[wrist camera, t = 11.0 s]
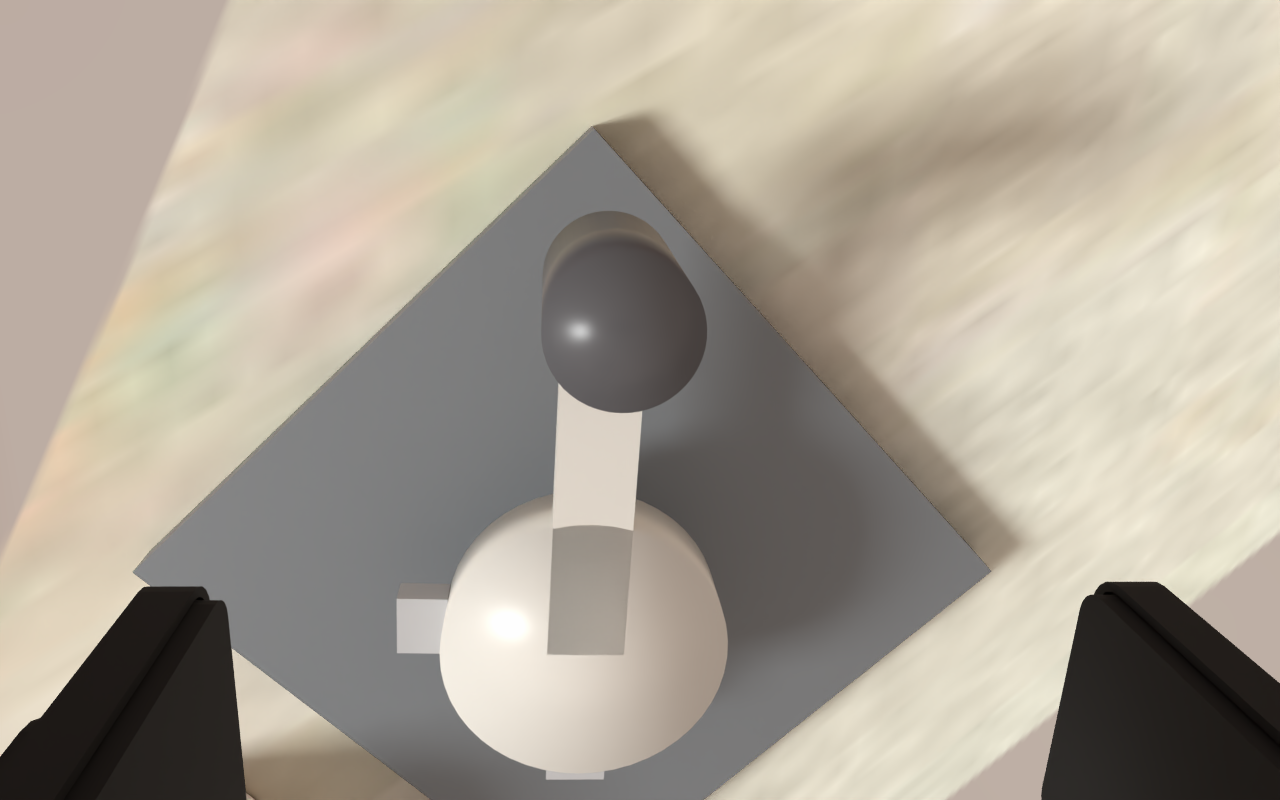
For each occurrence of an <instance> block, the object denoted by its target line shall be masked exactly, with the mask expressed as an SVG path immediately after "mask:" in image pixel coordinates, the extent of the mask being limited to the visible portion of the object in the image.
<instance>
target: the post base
mask: <svg viewBox="0 0 1280 800" xmlns="http://www.w3.org/2000/svg"><path fill="white" fill-rule="evenodd" d="M599 211H618V212H624V213H628V214H631V215H633V216H636V217H638V218H640V219H642V220H643V221H645V222H647V223H648V224H649V225H650V226H652V227H653V228H654V229H655V230H656V231H657V232H658V233H659V235H660V236H661V237H662V238H663V240H664V241H665V243H666V244H667V246H668V248H669V249H670V251H671V252H672V254H673V255H674V257H675V259H676V260H677V262H678V263H679V265H680V266H681V268H682V270H683V271H684V273H685V274H686V276H687V277H688V279H689V281H690V282H691V284H692V285H693V287H694V288H695V290H696V292H697V294H698V295H699V297H700V300H701V302H702V305H703V307H704V311H705V315H706V321H707V342H706V348H705V352H704V355H703V358H702V361H701V363H700V365H699V367H698V369H697V371H696V372H695V374H694V376H693V377H692V379H691V380H690V381H689V382H688V384H687V385H686V386H685V387H684V388H683V389H682V390H681V391H680V392H679V393H677V394H676V395H675V396H673V397H672V398H671V399H669V400H668V401H666V402H664V403H662V404H660V405H658V406H656V407H653V408H651V409H647V410H644V411H642V422H641V435H640V448H639V461H638V475H637V488H636V499H637V500H640V501H643V502H645V503H647V504H649V505H651V506H653V507H655V508H657V509H659V510H660V511H662V512H663V513H665V514H666V515H668V516H669V517H671V518H672V519H673V520H674V521H675V522H677V523H678V524H679V525H680V526H681V527H682V528H683V529H684V530H685V531H686V532H687V533H688V534H689V536H690V537H691V538H692V539H693V540H694V541H695V543H696V544H697V546H698V548H699V549H700V551H701V552H702V554H703V556H704V558H705V560H706V563H707V565H708V567H709V569H710V573H711V576H712V579H713V582H714V585H715V588H716V592H717V595H718V598H719V601H720V604H721V607H722V611H723V615H724V618H725V622H726V628H727V636H728V652H727V661H726V666H725V671H724V675H723V678H722V680H721V683H720V686H719V689H718V691H717V693H716V695H715V697H714V699H713V701H712V702H711V704H710V705H709V707H708V708H707V710H706V711H705V713H704V714H703V716H702V717H701V718H700V719H699V720H698V721H697V722H696V724H695V725H694V726H693V727H692V728H691V729H690V730H689V731H688V732H687V733H685V734H684V735H683V736H682V737H681V738H680V739H679V740H677V741H676V742H674V743H673V744H671V745H670V746H668V747H667V748H666V749H664V750H662V751H661V752H659V753H657V754H655V755H653V756H651V757H649V758H647V759H645V760H642V761H640V762H637V763H635V764H632V765H629V766H625V767H622V768H618V769H614V770H608V771H604V779H582V780H546V770H542V769H539V768H535V767H532V766H528V765H525V764H522V763H520V762H518V761H515V760H513V759H510V758H508V757H506V756H505V755H503V754H501V753H499V752H498V751H496V750H494V749H493V748H491V747H490V746H489V745H487V744H486V743H485V742H483V741H482V740H481V739H480V738H479V737H477V736H476V735H475V734H474V733H473V732H472V731H471V730H470V729H469V728H468V727H467V725H466V724H465V723H464V721H463V720H462V719H461V718H460V716H459V715H458V713H457V712H456V710H455V708H454V706H453V705H452V703H451V701H450V699H449V696H448V694H447V691H446V689H445V686H444V682H443V678H442V674H441V668H440V654H423V653H397V595H398V592H399V588H400V585H401V583H425V584H451V583H452V579H453V577H454V574H455V572H456V569H457V567H458V564H459V563H460V561H461V559H462V557H463V556H464V554H465V552H466V550H467V549H468V548H469V547H470V545H471V544H472V543H473V541H474V540H475V539H476V538H477V536H479V535H480V534H481V533H482V532H483V531H484V530H485V529H486V528H487V527H488V526H489V525H490V524H491V523H493V522H494V521H495V520H497V519H498V518H499V517H501V516H502V515H503V514H505V513H507V512H509V511H510V510H512V509H514V508H516V507H517V506H519V505H522V504H524V503H526V502H529V501H531V500H534V499H536V498H540V497H543V496H547V495H550V494H553V490H554V469H555V447H556V425H557V404H558V382H557V381H556V379H555V377H554V376H553V374H552V373H551V371H550V369H549V367H548V365H547V362H546V359H545V356H544V353H543V348H542V341H541V320H542V280H543V266H544V261H545V257H546V254H547V252H548V249H549V247H550V246H551V244H552V242H553V240H554V239H555V238H556V236H557V235H558V234H559V233H560V232H561V231H562V230H563V229H564V228H565V227H566V226H567V225H568V224H570V223H571V222H573V221H574V220H576V219H578V218H580V217H582V216H584V215H587V214H590V213H594V212H599ZM990 572H991V570H990V569H989V568H988V567H987V566H986V564H985V563H984V562H983V561H982V560H981V559H980V558H979V556H978V555H977V554H976V553H975V552H974V551H973V550H972V548H971V547H970V546H969V545H968V544H967V543H966V542H965V541H964V540H963V538H962V537H961V536H960V535H959V534H958V533H957V532H956V531H955V529H954V528H953V527H952V526H951V525H950V524H949V523H948V522H947V521H946V519H945V518H944V517H943V516H942V515H941V514H940V513H939V512H938V511H937V509H936V508H935V507H934V506H933V505H932V504H931V503H930V502H929V501H928V499H927V498H926V497H925V496H924V495H923V494H922V493H921V492H920V491H919V489H918V488H917V487H916V486H915V485H914V484H913V483H912V482H911V480H910V479H909V478H908V477H907V476H906V475H905V474H904V473H903V472H902V470H901V469H900V468H899V467H898V466H897V465H896V464H895V463H894V462H893V460H892V459H891V458H890V457H889V456H888V455H887V454H886V453H885V452H884V450H883V449H882V448H881V447H880V446H879V445H878V444H877V443H876V442H875V440H874V439H873V438H872V437H871V436H870V435H869V434H868V433H867V431H866V430H865V429H864V428H863V427H862V426H861V425H860V424H859V423H858V421H857V420H856V419H855V418H854V417H853V416H852V415H851V414H850V413H849V411H848V410H847V409H846V408H845V407H844V406H843V405H842V404H841V403H840V401H839V400H838V399H837V398H836V397H835V396H834V395H833V394H832V393H831V391H830V390H829V389H828V388H827V387H826V386H825V385H824V384H823V382H822V381H821V380H820V379H819V378H818V377H817V376H816V375H815V374H814V372H813V371H812V370H811V369H810V368H809V367H808V366H807V365H806V364H805V362H804V361H803V360H802V359H801V358H800V357H799V356H798V355H797V354H796V352H795V351H794V350H793V349H792V348H791V347H790V346H789V345H788V344H787V342H786V341H785V340H784V339H783V338H782V337H781V336H780V335H779V333H778V332H777V331H776V330H775V329H774V328H773V327H772V326H771V325H770V323H769V322H768V321H767V320H766V319H765V318H764V317H763V316H762V315H761V313H760V312H759V311H758V310H757V309H756V308H755V307H754V306H753V305H752V303H751V302H750V301H749V300H748V299H747V298H746V297H745V296H744V295H743V293H742V292H741V291H740V290H739V289H738V288H737V287H736V286H735V284H734V283H733V282H732V281H731V280H730V279H729V278H728V277H727V276H726V274H725V273H724V272H723V271H722V270H721V269H720V268H719V267H718V266H717V264H716V263H715V262H714V261H713V260H712V259H711V258H710V257H709V256H708V254H707V253H706V252H705V251H704V250H703V249H702V248H701V247H700V246H699V244H698V243H697V242H696V241H695V240H694V239H693V238H692V237H691V235H690V234H689V233H688V232H687V231H686V230H685V229H684V228H683V227H682V225H681V224H680V223H679V222H678V221H677V220H676V219H675V218H674V217H673V215H672V214H671V213H670V212H669V211H668V210H667V209H666V208H665V207H664V205H663V204H662V203H661V202H660V201H659V200H658V199H657V198H656V197H655V195H654V194H653V193H652V192H651V191H650V190H649V189H648V188H647V186H646V185H645V184H644V183H643V182H642V181H641V180H640V179H639V178H638V176H637V175H636V174H635V173H634V172H633V171H632V170H631V169H630V168H629V166H628V165H627V164H626V163H625V162H624V161H623V160H622V159H621V158H620V156H619V155H618V154H617V153H616V152H615V151H614V150H613V149H612V148H611V146H610V145H609V144H608V143H607V142H606V141H605V140H604V139H603V137H602V136H601V135H600V134H599V133H598V132H597V131H596V130H595V129H594V127H593V126H591V127H590V128H589V129H588V130H587V131H586V132H585V133H584V134H583V135H582V136H581V137H580V138H579V139H578V140H577V141H576V142H575V143H574V144H573V145H572V146H571V147H570V148H569V149H568V150H567V151H565V152H564V153H563V154H562V155H561V156H560V157H559V158H558V159H557V160H556V161H555V162H554V163H553V164H552V165H551V166H550V167H549V168H548V169H547V170H546V171H545V172H544V173H543V174H542V175H541V176H539V177H538V178H537V179H536V180H535V181H534V182H533V183H532V184H531V185H530V186H529V187H528V188H527V189H526V190H525V191H524V192H523V193H522V194H521V195H520V196H519V197H518V198H517V199H516V200H515V201H513V202H512V203H511V204H510V205H509V206H508V207H507V208H506V209H505V210H504V211H503V212H502V213H501V214H500V215H499V216H498V217H497V218H496V219H495V220H494V221H493V222H492V223H491V224H490V225H489V226H487V227H486V228H485V229H484V230H483V231H482V232H481V233H480V234H479V235H478V236H477V237H476V238H475V239H474V240H473V241H472V242H471V243H470V244H469V245H468V246H467V247H466V248H465V249H464V250H463V251H461V252H460V253H459V254H458V255H457V256H456V257H455V258H454V259H453V260H452V261H451V262H450V263H449V264H448V265H447V266H446V267H445V268H444V269H443V270H442V271H441V272H440V273H439V274H438V275H437V276H436V277H434V278H433V279H432V280H431V281H430V282H429V283H428V284H427V285H426V286H425V287H424V288H423V289H422V290H421V291H420V292H419V293H418V294H417V295H416V296H415V297H414V298H413V299H412V300H411V301H410V302H408V303H407V304H406V305H405V306H404V307H403V308H402V309H401V310H400V311H399V312H398V313H397V314H396V315H395V316H394V317H393V318H392V319H391V320H390V321H389V322H388V323H387V324H386V325H385V326H384V327H382V328H381V329H380V330H379V331H378V332H377V333H376V334H375V335H374V336H373V337H372V338H371V339H370V340H369V341H368V342H367V343H366V344H365V345H364V346H363V347H362V348H361V349H360V350H359V351H358V352H356V353H355V354H354V355H353V356H352V357H351V358H350V359H349V360H348V361H347V362H346V363H345V364H344V365H343V366H342V367H341V368H340V369H339V370H338V371H337V372H336V373H335V374H334V375H333V376H332V377H330V378H329V379H328V380H327V381H326V382H325V383H324V384H323V385H322V386H321V387H320V388H319V389H318V390H317V391H316V392H315V393H314V394H313V395H312V396H311V397H310V398H309V399H308V400H307V401H306V402H304V403H303V404H302V405H301V406H300V407H299V408H298V409H297V410H296V411H295V412H294V413H293V414H292V415H291V416H290V417H289V418H288V419H287V420H286V421H285V422H284V423H283V424H282V425H281V426H280V427H279V428H277V429H276V430H275V431H274V432H273V433H272V434H271V435H270V436H269V437H268V438H267V439H266V440H265V441H264V442H263V443H262V444H261V445H260V446H259V447H258V448H257V449H256V450H255V451H254V452H253V453H251V454H250V455H249V456H248V457H247V458H246V459H245V460H244V461H243V462H242V463H241V464H240V465H239V466H238V467H237V468H236V469H235V470H234V471H233V472H232V473H231V474H230V475H229V476H228V477H227V478H225V479H224V480H223V481H222V482H221V483H220V484H219V485H218V486H217V487H216V488H215V489H214V490H213V491H212V492H211V493H210V494H209V495H208V496H207V497H206V498H205V499H204V500H203V501H202V502H201V503H199V504H198V505H197V506H196V507H195V508H194V509H193V510H192V511H191V512H190V513H189V514H188V515H187V516H186V517H185V518H184V519H183V520H182V521H181V522H180V523H179V524H178V525H177V526H176V527H175V528H173V529H172V530H171V531H170V532H169V533H168V534H167V535H166V536H165V537H164V538H163V539H162V540H161V541H160V542H159V543H158V544H157V545H156V546H155V547H154V548H153V549H152V550H151V551H150V552H149V553H148V554H147V555H146V556H145V558H144V559H143V560H142V561H141V563H140V564H139V565H138V566H137V567H136V569H135V570H134V571H133V573H134V574H135V575H137V576H138V577H139V578H141V579H142V580H143V581H144V582H146V583H147V584H148V585H150V586H151V587H155V586H203V587H204V588H205V589H206V590H207V593H208V595H209V598H210V600H222V601H224V602H225V604H226V607H227V612H228V619H229V629H230V639H231V648H232V649H234V650H235V651H236V652H238V653H239V654H240V655H242V656H243V657H244V658H246V659H247V660H248V661H250V662H251V663H252V664H253V665H255V666H256V667H257V668H259V669H260V670H261V671H263V672H264V673H265V674H267V675H268V676H269V677H271V678H272V679H273V680H274V681H276V682H277V683H278V684H280V685H281V686H282V687H284V688H285V689H286V690H288V691H289V692H290V693H292V694H293V695H294V696H295V697H297V698H298V699H299V700H301V701H302V702H303V703H305V704H306V705H307V706H309V707H310V708H311V709H313V710H314V711H315V712H316V713H318V714H319V715H320V716H322V717H323V718H324V719H326V720H327V721H328V722H330V723H331V724H332V725H334V726H335V727H336V728H338V729H339V730H340V731H341V732H343V733H344V734H345V735H347V736H348V737H349V738H351V739H352V740H353V741H355V742H356V743H357V744H359V745H360V746H361V747H362V748H364V749H365V750H366V751H368V752H369V753H370V754H372V755H373V756H374V757H376V758H377V759H378V760H380V761H381V762H382V763H383V764H385V765H386V766H387V767H389V768H390V769H391V770H393V771H394V772H395V773H397V774H398V775H399V776H401V777H402V778H403V779H404V780H406V781H407V782H408V783H410V784H411V785H412V786H414V787H415V788H416V789H418V790H419V791H420V792H422V793H423V794H424V795H425V796H427V797H428V798H429V799H431V800H704V799H705V798H706V797H708V796H709V795H710V794H711V793H713V792H714V791H715V790H716V789H718V788H719V787H720V786H721V785H723V784H724V783H725V782H727V781H728V780H729V779H730V778H732V777H733V776H734V775H735V774H737V773H738V772H739V771H740V770H742V769H743V768H744V767H745V766H747V765H748V764H749V763H750V762H752V761H753V760H754V759H756V758H757V757H758V756H759V755H761V754H762V753H763V752H764V751H766V750H767V749H768V748H769V747H771V746H772V745H773V744H774V743H776V742H777V741H778V740H779V739H781V738H782V737H783V736H785V735H786V734H787V733H788V732H790V731H791V730H792V729H793V728H795V727H796V726H797V725H798V724H800V723H801V722H802V721H803V720H805V719H806V718H807V717H808V716H810V715H811V714H812V713H814V712H815V711H816V710H817V709H819V708H820V707H821V706H822V705H824V704H825V703H826V702H827V701H829V700H830V699H831V698H832V697H834V696H835V695H836V694H837V693H839V692H840V691H841V690H843V689H844V688H845V687H846V686H848V685H849V684H850V683H851V682H853V681H854V680H855V679H856V678H858V677H859V676H860V675H861V674H863V673H864V672H865V671H866V670H868V669H869V668H870V667H872V666H873V665H874V664H875V663H877V662H878V661H879V660H880V659H882V658H883V657H884V656H885V655H887V654H888V653H889V652H890V651H892V650H893V649H894V648H895V647H897V646H898V645H899V644H901V643H902V642H903V641H904V640H906V639H907V638H908V637H909V636H911V635H912V634H913V633H914V632H916V631H917V630H918V629H919V628H921V627H922V626H923V625H924V624H926V623H927V622H928V621H930V620H931V619H932V618H933V617H935V616H936V615H937V614H938V613H940V612H941V611H942V610H943V609H945V608H946V607H947V606H948V605H950V604H951V603H952V602H953V601H955V600H956V599H957V598H959V597H960V596H961V595H962V594H964V593H965V592H966V591H967V590H969V589H970V588H971V587H972V586H974V585H975V584H976V583H977V582H979V581H980V580H981V579H982V578H984V577H985V576H986V575H987V574H989V573H990Z"/></svg>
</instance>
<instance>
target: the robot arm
mask: <svg viewBox="0 0 1280 800" xmlns="http://www.w3.org/2000/svg"><path fill="white" fill-rule="evenodd" d="M1041 797H1042V800H1280V683H1279V682H1277V681H1276V680H1275V679H1274V678H1273V677H1271V676H1270V675H1269V674H1268V673H1267V672H1265V671H1264V670H1263V669H1262V668H1261V667H1260V666H1258V665H1257V664H1256V663H1255V662H1254V661H1252V660H1251V659H1250V658H1249V657H1248V656H1246V655H1245V654H1244V653H1243V652H1242V651H1241V650H1239V649H1238V648H1237V647H1235V645H1233V644H1232V643H1231V642H1230V641H1229V640H1228V639H1226V638H1225V637H1224V636H1223V635H1222V634H1220V633H1219V632H1218V631H1217V630H1216V629H1214V628H1213V627H1212V626H1211V625H1210V624H1209V623H1207V622H1206V621H1205V620H1203V618H1201V617H1200V616H1199V615H1198V614H1197V613H1195V612H1194V611H1193V610H1192V609H1191V608H1190V607H1188V606H1187V605H1186V604H1185V603H1184V602H1182V601H1181V600H1180V599H1179V598H1178V597H1176V596H1175V595H1174V594H1173V593H1172V592H1171V591H1169V590H1168V589H1167V588H1166V587H1165V586H1163V585H1161V584H1159V583H1158V582H1105V583H1103V584H1101V585H1100V586H1099V587H1098V588H1097V590H1096V591H1095V593H1094V595H1089V596H1087V597H1086V598H1085V599H1084V600H1083V602H1082V605H1081V608H1080V611H1079V616H1078V621H1077V626H1076V630H1075V635H1074V640H1073V644H1072V649H1071V654H1070V659H1069V663H1068V668H1067V673H1066V678H1065V682H1064V687H1063V692H1062V696H1061V701H1060V706H1059V711H1058V715H1057V720H1056V725H1055V729H1054V735H1053V739H1052V744H1051V748H1050V753H1049V758H1048V762H1047V768H1046V772H1045V777H1044V781H1043V786H1042V795H1041ZM0 800H247V799H246V789H245V779H244V769H243V759H242V749H241V739H240V729H239V719H238V709H237V699H236V689H235V679H234V669H233V659H232V649H231V639H230V629H229V619H228V612H227V607H226V604H225V602H224V601H222V600H210V598H209V595H208V593H207V590H206V589H205V588H204V587H203V586H155V587H143V588H142V589H141V590H140V591H139V592H138V593H137V594H136V596H135V597H134V598H133V600H132V601H131V602H130V603H129V605H128V606H127V607H126V609H125V610H124V611H123V612H122V614H121V615H120V616H119V618H118V619H117V620H116V621H115V623H114V624H113V625H112V627H111V628H110V629H109V630H108V632H107V633H106V634H105V636H104V637H103V638H102V640H101V641H100V642H99V643H98V645H97V646H96V647H95V649H94V650H93V651H92V652H91V654H90V655H89V656H88V658H87V659H86V660H85V661H84V663H83V664H82V665H81V667H80V668H79V669H78V670H77V672H76V673H75V674H74V676H73V677H72V678H71V679H70V681H69V682H68V683H67V685H66V686H65V687H64V688H63V690H62V691H61V692H60V694H59V695H58V696H57V698H56V699H55V700H54V701H53V703H52V704H51V705H50V707H49V708H48V709H47V710H46V712H45V713H44V714H43V716H42V717H41V718H39V719H36V720H33V721H31V722H30V723H29V724H28V725H27V726H26V727H25V728H23V729H22V730H21V731H20V732H19V734H18V735H17V736H16V737H15V739H14V740H13V741H12V743H11V744H10V745H9V746H8V748H7V749H6V750H5V751H4V753H3V754H2V755H1V756H0Z"/></svg>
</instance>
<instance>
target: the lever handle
mask: <svg viewBox="0 0 1280 800" xmlns="http://www.w3.org/2000/svg"><path fill="white" fill-rule="evenodd" d="M541 341H542V348H543V353H544V356H545V359H546V362H547V365H548V367H549V369H550V371H551V373H552V374H553V376H554V377H555V379H556V381H557V382H558V404H557V425H556V447H555V469H554V490H553V494H550V495H547V496H543V497H540V498H536V499H534V500H531V501H529V502H526V503H524V504H522V505H519V506H517V507H516V508H514V509H512V510H510V511H509V512H507V513H505V514H503V515H502V516H501V517H499V518H498V519H497V520H495V521H494V522H493V523H491V524H490V525H489V526H488V527H487V528H486V529H485V530H484V531H483V532H482V533H481V534H480V535H479V536H477V538H476V539H475V540H474V541H473V543H472V544H471V545H470V547H469V548H468V549H467V550H466V552H465V554H464V556H463V557H462V559H461V561H460V563H459V564H458V567H457V569H456V572H455V574H454V577H453V579H452V583H451V584H425V583H401V585H400V588H399V592H398V595H397V653H423V654H440V668H441V674H442V678H443V682H444V686H445V689H446V691H447V694H448V696H449V699H450V701H451V703H452V705H453V706H454V708H455V710H456V712H457V713H458V715H459V716H460V718H461V719H462V720H463V721H464V723H465V724H466V725H467V727H468V728H469V729H470V730H471V731H472V732H473V733H474V734H475V735H476V736H477V737H479V738H480V739H481V740H482V741H483V742H485V743H486V744H487V745H489V746H490V747H491V748H493V749H494V750H496V751H498V752H499V753H501V754H503V755H505V756H506V757H508V758H510V759H513V760H515V761H518V762H520V763H522V764H525V765H528V766H532V767H535V768H539V769H542V770H546V780H582V779H604V771H608V770H614V769H618V768H622V767H625V766H629V765H632V764H635V763H637V762H640V761H642V760H645V759H647V758H649V757H651V756H653V755H655V754H657V753H659V752H661V751H662V750H664V749H666V748H667V747H668V746H670V745H671V744H673V743H674V742H676V741H677V740H679V739H680V738H681V737H682V736H683V735H684V734H685V733H687V732H688V731H689V730H690V729H691V728H692V727H693V726H694V725H695V724H696V722H697V721H698V720H699V719H700V718H701V717H702V716H703V714H704V713H705V711H706V710H707V708H708V707H709V705H710V704H711V702H712V701H713V699H714V697H715V695H716V693H717V691H718V689H719V686H720V683H721V680H722V678H723V675H724V671H725V666H726V661H727V652H728V636H727V628H726V622H725V618H724V615H723V611H722V607H721V604H720V601H719V598H718V595H717V592H716V588H715V585H714V582H713V579H712V576H711V573H710V569H709V567H708V565H707V563H706V560H705V558H704V556H703V554H702V552H701V551H700V549H699V548H698V546H697V544H696V543H695V541H694V540H693V539H692V538H691V537H690V536H689V534H688V533H687V532H686V531H685V530H684V529H683V528H682V527H681V526H680V525H679V524H678V523H677V522H675V521H674V520H673V519H672V518H671V517H669V516H668V515H666V514H665V513H663V512H662V511H660V510H659V509H657V508H655V507H653V506H651V505H649V504H647V503H645V502H643V501H640V500H637V499H636V488H637V475H638V461H639V448H640V435H641V422H642V411H644V410H647V409H651V408H653V407H656V406H658V405H660V404H662V403H664V402H666V401H668V400H669V399H671V398H672V397H673V396H675V395H676V394H677V393H679V392H680V391H681V390H682V389H683V388H684V387H685V386H686V385H687V384H688V382H689V381H690V380H691V379H692V377H693V376H694V374H695V372H696V371H697V369H698V367H699V365H700V363H701V361H702V358H703V355H704V352H705V348H706V342H707V321H706V315H705V311H704V307H703V305H702V302H701V300H700V297H699V295H698V294H697V292H696V290H695V288H694V287H693V285H692V284H691V282H690V281H689V279H688V277H687V276H686V274H685V273H684V271H683V270H682V268H681V266H680V265H679V263H678V262H677V260H676V259H675V257H674V255H673V254H672V252H671V251H670V249H669V248H668V246H667V244H666V243H665V241H664V240H663V238H662V237H661V236H660V235H659V233H658V232H657V231H656V230H655V229H654V228H653V227H652V226H650V225H649V224H648V223H647V222H645V221H643V220H642V219H640V218H638V217H636V216H633V215H631V214H628V213H624V212H618V211H599V212H594V213H590V214H587V215H584V216H582V217H580V218H578V219H576V220H574V221H573V222H571V223H570V224H568V225H567V226H566V227H565V228H564V229H563V230H562V231H561V232H560V233H559V234H558V235H557V236H556V238H555V239H554V240H553V242H552V244H551V246H550V247H549V249H548V252H547V254H546V257H545V261H544V266H543V280H542V320H541Z"/></svg>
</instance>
